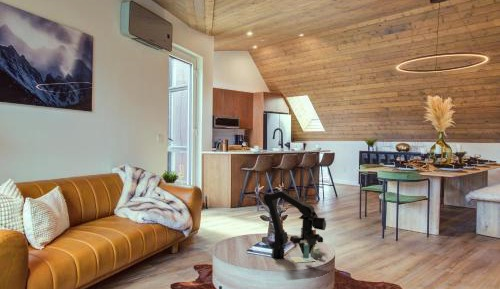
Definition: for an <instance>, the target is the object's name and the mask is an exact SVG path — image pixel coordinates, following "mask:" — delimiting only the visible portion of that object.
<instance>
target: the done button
mask: <svg viewBox="0 0 500 289" xmlns="http://www.w3.org/2000/svg"><path fill="white" fill-rule="evenodd" d="M320 249H321V248H320V247H318V246H317V247H316V246H315V247H314V249H313V252H314V253H313V254H314V255H319V253H321V252H320Z"/></svg>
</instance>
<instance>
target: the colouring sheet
mask: <svg viewBox="0 0 500 289" xmlns="http://www.w3.org/2000/svg"><path fill="white" fill-rule="evenodd" d="M289 259H290V260H291V261H292V262H293V263H295V264H298V263H313V262H312V261H315V262H316V259H314V258H312V257H311V256H309V258H307V259H306V258H303V256H294V257H290V256H289Z"/></svg>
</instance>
